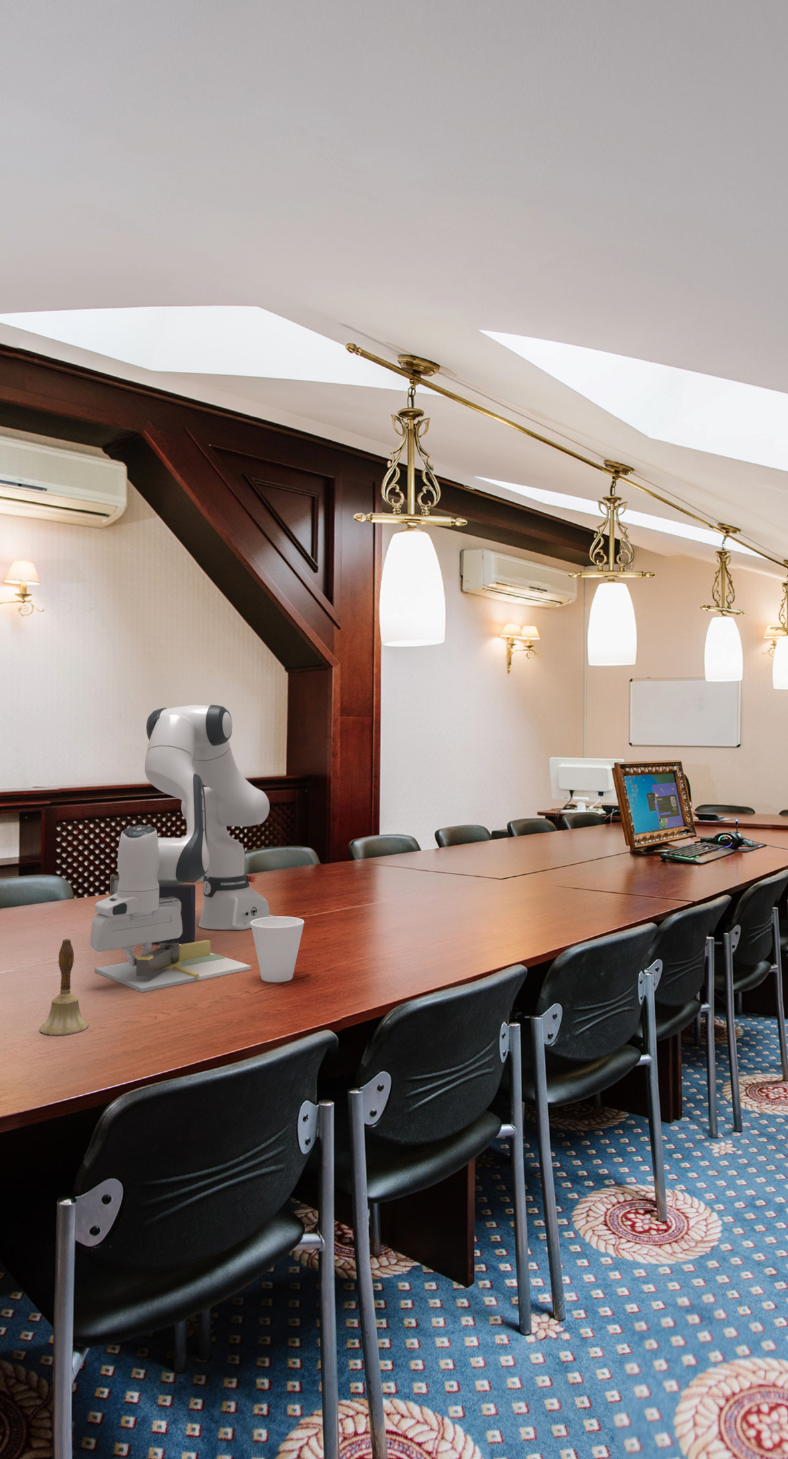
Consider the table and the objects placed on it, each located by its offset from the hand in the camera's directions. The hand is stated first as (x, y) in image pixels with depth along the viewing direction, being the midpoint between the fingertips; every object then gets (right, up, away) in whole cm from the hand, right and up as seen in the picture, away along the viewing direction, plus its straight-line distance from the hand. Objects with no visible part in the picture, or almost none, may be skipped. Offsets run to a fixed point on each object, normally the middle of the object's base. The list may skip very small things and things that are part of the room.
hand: (137, 964), depth 189 cm
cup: (+30, -4, +2) cm, 30 cm away
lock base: (+6, -3, +8) cm, 10 cm away
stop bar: (+4, -1, +3) cm, 5 cm away
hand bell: (-4, -3, -32) cm, 33 cm away
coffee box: (-16, -4, +41) cm, 44 cm away
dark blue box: (-1, -4, +34) cm, 34 cm away
